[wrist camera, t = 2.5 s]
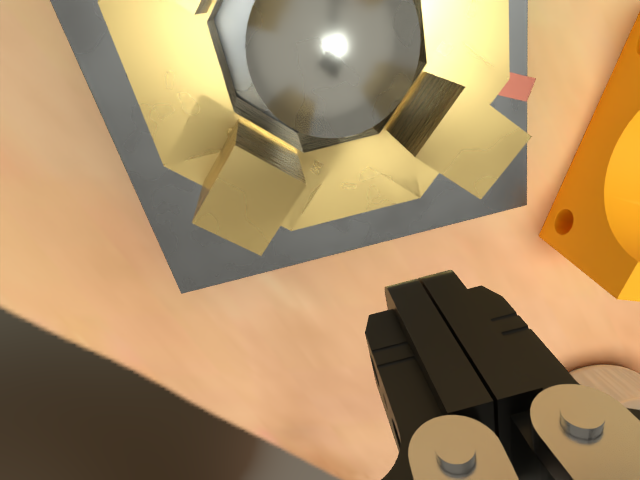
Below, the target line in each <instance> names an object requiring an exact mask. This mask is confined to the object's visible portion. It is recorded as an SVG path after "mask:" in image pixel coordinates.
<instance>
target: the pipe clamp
mask: <svg viewBox="0 0 640 480" xmlns="http://www.w3.org/2000/svg"><path fill="white" fill-rule="evenodd" d="M539 237H540V238H542V239H543V240H544V241H545V242H547V243H548V244H549V245H550V246H552V247H553V248H554V249H555V250H557V251H558V252H559V253H560V254H562V255H563V256H564V257H565V258H566V259H568V260H569V261H570V262H571V263H573V264H574V265H575V266H576V267H578V268H579V269H580V270H581V271H583V272H584V273H585V274H586V275H588V276H589V277H590V278H591V279H593V280H594V281H595V282H596V283H598V284H599V285H600V286H601V287H602V288H604V289H605V290H606V291H607V292H609V293H610V294H611V295H612V296H614V297H615V298H616V299H621V300H630V301H640V12H639V14H638V17H637V19H636V21H635V23H634V25H633V28H632V30H631V32H630V34H629V37H628V39H627V41H626V43H625V45H624V48H623V50H622V52H621V54H620V57H619V59H618V61H617V63H616V65H615V68H614V70H613V72H612V74H611V76H610V79H609V81H608V83H607V85H606V88H605V90H604V92H603V94H602V96H601V99H600V101H599V103H598V105H597V108H596V110H595V112H594V114H593V116H592V119H591V121H590V123H589V125H588V127H587V130H586V132H585V134H584V136H583V139H582V141H581V143H580V145H579V147H578V150H577V152H576V154H575V156H574V158H573V161H572V163H571V165H570V167H569V170H568V172H567V174H566V176H565V178H564V181H563V183H562V185H561V187H560V190H559V192H558V194H557V196H556V198H555V201H554V203H553V205H552V207H551V209H550V212H549V214H548V216H547V218H546V221H545V223H544V225H543V227H542V229H541V232H540V234H539Z"/></svg>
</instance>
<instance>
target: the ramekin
mask: <svg viewBox="0 0 640 480" xmlns="http://www.w3.org/2000/svg"><path fill="white" fill-rule="evenodd" d="M569 373H570V374H571V375H572V377H573V378H574V379H575V380H576V381H577V382H578V383H579V384H580V385H584V386H588V387H592V388H595V389H597V390H600V391H602V392H604V393H606V394H608V395H610V396H612V397H613V398H615V399H616V400H618V401H619V402H620V403H621V404H622V405H624V406H625V407H626V408H631V409H637V410H640V374H639V373H637V372H635V371H633V370H630V369H628V368H624V367H621V366H614V365H591V366H586V367H582V368H579V369H576V370H573V371H571V372H569Z"/></svg>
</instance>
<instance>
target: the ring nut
mask: <svg viewBox="0 0 640 480" xmlns="http://www.w3.org/2000/svg"><path fill="white" fill-rule="evenodd" d="M222 2H223V0H98V5H99V7H100V10H101V12H102V14H103V17H104V19H105V22H106V24H107V27H108V29H109V32H110V34H111V37H112V39H113V42H114V44H115V47H116V49H117V52H118V54H119V57H120V59H121V62H122V64H123V67H124V69H125V71H126V74H127V76H128V79H129V81H130V84H131V86H132V89H133V91H134V94H135V96H136V99H137V101H138V104H139V106H140V109H141V111H142V114H143V116H144V119H145V121H146V124H147V126H148V128H149V131H150V133H151V136H152V138H153V141H154V143H155V146H156V148H157V151H158V153H159V156H160V158H161V161H162V163H163V166H164V167H166V168H168V169H170V170H172V171H174V172H176V173H178V174H180V175H182V176H184V177H186V178H188V179H190V180H192V181H194V182H196V183H198V184H200V185H202V189H201V192H200V196H199V200H198V203H197V207H196V210H195V214H194V217H193V221H192V223H193V224H195V225H197V226H199V227H201V228H203V229H205V230H207V231H209V232H212V233H214V234H216V235H218V236H220V237H222V238H224V239H226V240H228V241H231V242H233V243H235V244H237V245H239V246H241V247H243V248H245V249H247V250H250V251H252V252H254V253H256V254H258V255H260V256H261V255H262V254H263V252H264V251H265V249H266V248H267V246H268V245H269V243H270V241H271V240H272V238H273V237H274V235H275V234H276V232H277V231H278V229H279V227H280V226H282V227H284V228H286V229H288V230H290V231H293V230H297V229H301V228H305V227H309V226H313V225H317V224H321V223H325V222H328V221H332V220H336V219H340V218H344V217H348V216H352V215H356V214H360V213H364V212H368V211H371V210H375V209H379V208H383V207H387V206H391V205H395V204H399V203H403V202H407V201H411V200H414V199H418V198H421V196H422V195H423V194H424V192H425V191H426V190H427V188H428V187H429V186H430V184H431V183H432V182H433V180H434V179H435V178H436V176H437V175H438V174H439V173H440V174H442V175H443V176H445V177H446V178H448V179H450V180H451V181H453V182H454V183H456V184H457V185H459V186H460V187H462V188H464V189H465V190H467V191H468V192H470V193H471V194H473V195H474V196H476V197H478V198H479V199H482V198H483V196H484V195H485V194H486V193H487V191H488V190H489V189H490V188H491V186H492V185H493V184H494V183H495V181H496V180H497V179H498V178H499V176H500V175H501V174H502V173H503V172H504V170H505V169H506V168H507V167H508V165H509V164H510V163H511V162H512V160H513V159H514V158H515V157H516V155H517V154H518V153H519V152H520V150H521V149H522V148H523V147H524V145H525V144H526V143H527V142H528V140H529V139H530V138H531V137H532V136H530V135H529V134H528V133H526V132H525V131H524V130H522V129H521V128H520V127H518V126H517V125H516V124H514V123H513V122H512V121H510V120H509V119H508V118H506V117H505V116H504V115H502V114H501V113H500V112H498V111H497V110H496V109H494V108H493V107H492V106H490V104H491V103H492V102H493V100H494V99H495V98H496V96H497V95H498V94H499V92H500V91H501V90H502V88H503V87H504V86H505V84H506V83H507V82H508V80H509V79H510V68H509V0H413V3H414V5H415V8H416V12H417V15H418V20H419V26H420V40H421V43H420V55H419V60H418V65H417V69H416V72H415V75H414V78H413V80H412V82H411V85H410V87H409V89H408V91H407V92H406V94H405V96H404V97H403V99H402V100H401V101H400V103H399V104H398V105H397V107H396V108H395V109H394V110H393V111H392V112H391V113H390V114H389V115H388V116H387V117H386V118H384V119H383V120H382V121H381V122H379V123H378V124H376V125H375V126H373V127H371V128H370V129H368V130H365V131H363V132H361V133H358V134H355V135H352V136H348V137H342V138H319V137H314V136H310V135H307V134H304V133H301V132H299V133H296V132H295V131H293V130H291V129H290V128H288V127H286V126H285V125H283V124H281V123H280V122H278V121H276V120H275V119H273V118H271V117H270V116H268V115H266V114H265V113H263V112H261V111H260V110H258V109H256V108H255V107H253V106H251V105H250V104H248V103H246V102H245V101H243V100H241V99H239V98H238V97H237V96H236V93H235V89H234V86H233V83H232V79H231V76H230V73H229V69H228V66H227V63H226V59H225V56H224V53H223V49H222V46H221V43H220V39H219V36H218V33H217V29H216V26H215V22H214V18H215V16H216V14H217V12H218V10H219V8H220V6H221V4H222Z"/></svg>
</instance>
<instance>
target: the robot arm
mask: <svg viewBox="0 0 640 480" xmlns="http://www.w3.org/2000/svg"><path fill="white" fill-rule="evenodd" d="M385 296H386V301H387V307H388V310H387V311H383V312H379V313H375V314H371V315H369V318H368V322H367V327H366V331H365V334H366V339H367V344H368V348H369V353H370V357H371V362H372V366H373V371H374V375H375V380H376V384H377V387H378V390H379V393H380V396H381V399H382V402H383V405H384V408H385V411H386V414H387V417H388V420H389V423H390V426H391V429H392V432H393V435H394V438H395V441H396V444H397V447H398V450H399V455H398V458H397V460H396V462H395V464H394V466H393V467H392V469H391V470H390V471H389V473H388V474H387V475H386V476H385V477H384V478H383V479H381V480H640V410H637V409H631V408H626V407H625V406H624V405H622V404H621V403H620V402H619V401H618V400H616V399H615V398H613V397H612V396H610V395H608V394H606V393H604V392H602V391H600V390H597V389H595V388H592V387H588V386H584V385H580V384H579V383H578V382H577V381H576V380H575V379H574V378H573V377H572V375H571V374H570V373H569V372H568V371H567V370H566V369H565V367H564V366H563V365H562V364H561V363H560V362H559V361H558V359H557V358H556V357H555V356H554V355H553V354H552V353H551V351H550V350H549V349H548V348H547V347H546V346H545V345H544V343H543V342H542V341H541V340H540V339H539V338H538V337H537V335H536V334H535V333H534V332H533V331H532V330H531V329H529V328H528V325H527V324H526V323H525V322H524V321H523V319H522V318H521V317H520V316H519V315H518V316H517V314H516V311H515V310H514V309H513V308H512V307H511V306H510V305H509V303H508V302H507V301H506V300H505V299H504V298H503V297H502V296H501V295H499V294H497V293H495V292H493V291H491V290H489V289H487V288H485V287H483V286H478V287H474V288H470V289H467V288H466V287H465V286H464V284H463V283H462V282H461V280H460V279H459V278H458V277H457V275H456V274H455V273H454V272H453V271H452V270H448V271H444V272H440V273H436V274H433V275H429V276H425V277H421V278H418V279H414V280H410V281H406V282H403V283H399V284H395V285H391V286H387V287H385Z"/></svg>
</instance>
